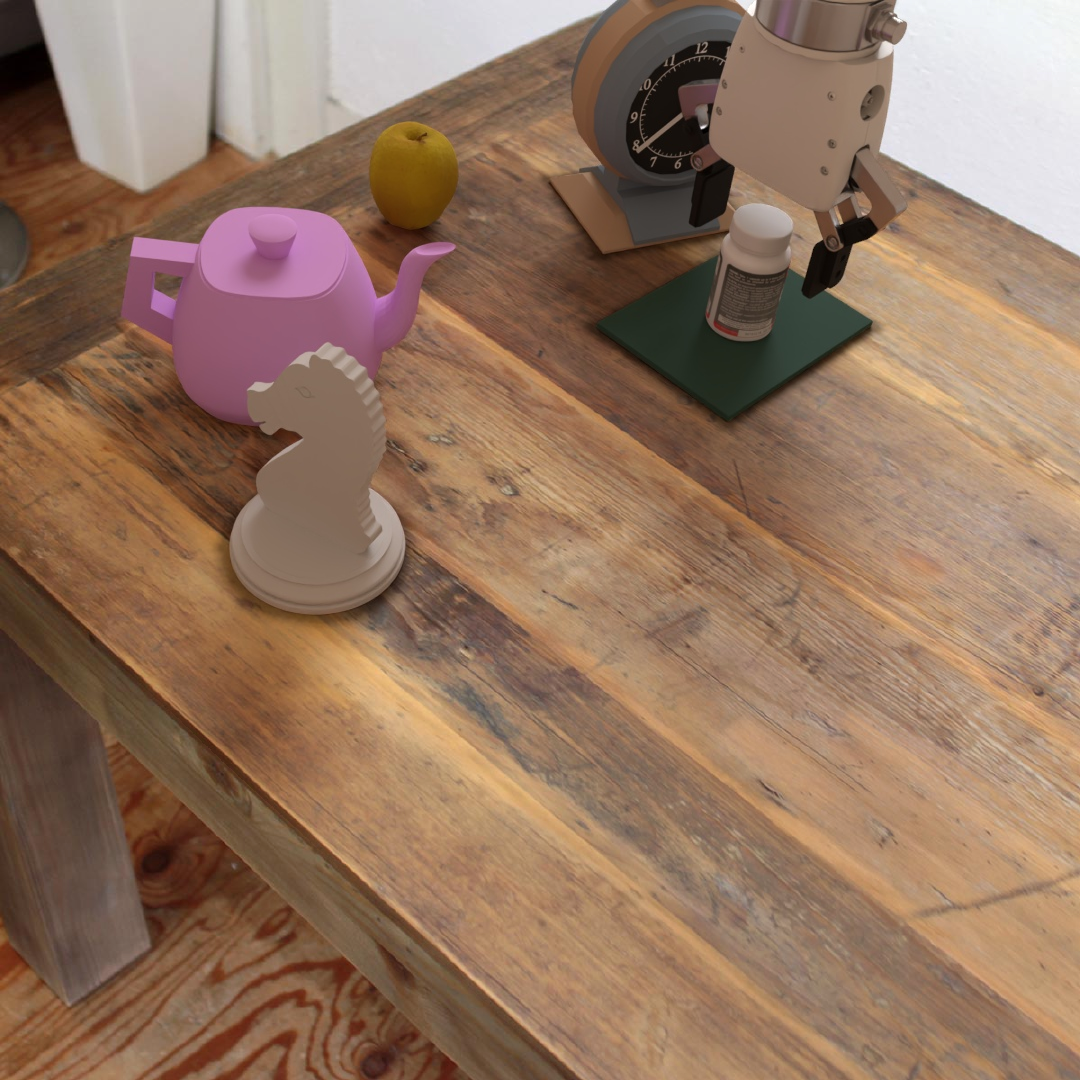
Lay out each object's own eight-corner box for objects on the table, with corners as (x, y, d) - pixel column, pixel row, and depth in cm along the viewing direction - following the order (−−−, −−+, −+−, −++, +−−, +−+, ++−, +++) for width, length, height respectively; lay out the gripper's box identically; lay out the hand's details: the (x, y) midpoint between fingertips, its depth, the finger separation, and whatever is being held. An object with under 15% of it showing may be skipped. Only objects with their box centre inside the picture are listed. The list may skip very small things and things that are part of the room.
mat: (743, 245, 100) (744, 239, 100) (871, 326, 95) (873, 320, 95) (595, 328, 92) (596, 322, 91) (727, 422, 87) (729, 416, 86)
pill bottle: (784, 335, 92) (814, 234, 86) (726, 350, 91) (753, 248, 85) (749, 295, 95) (775, 194, 89) (692, 308, 93) (715, 206, 87)
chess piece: (298, 463, 80) (288, 258, 69) (437, 531, 78) (450, 329, 67) (193, 565, 74) (164, 358, 63) (340, 643, 72) (336, 442, 61)
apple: (438, 255, 95) (444, 157, 90) (354, 233, 96) (354, 134, 90) (466, 207, 100) (473, 111, 94) (386, 187, 100) (387, 90, 95)
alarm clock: (590, 256, 97) (626, 25, 84) (537, 182, 103) (562, -45, 90) (758, 225, 102) (816, 2, 89) (698, 156, 108) (745, -63, 95)
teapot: (446, 451, 82) (455, 308, 74) (113, 436, 80) (84, 287, 72) (448, 314, 91) (457, 172, 83) (148, 297, 89) (127, 151, 81)
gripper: (986, 47, 74) (899, 295, 87) (748, -68, 82) (700, 175, 94) (909, 89, 70) (830, 342, 83) (667, -37, 78) (628, 213, 91)
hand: (761, 253), depth 89 cm, fingers open, 9 cm apart
